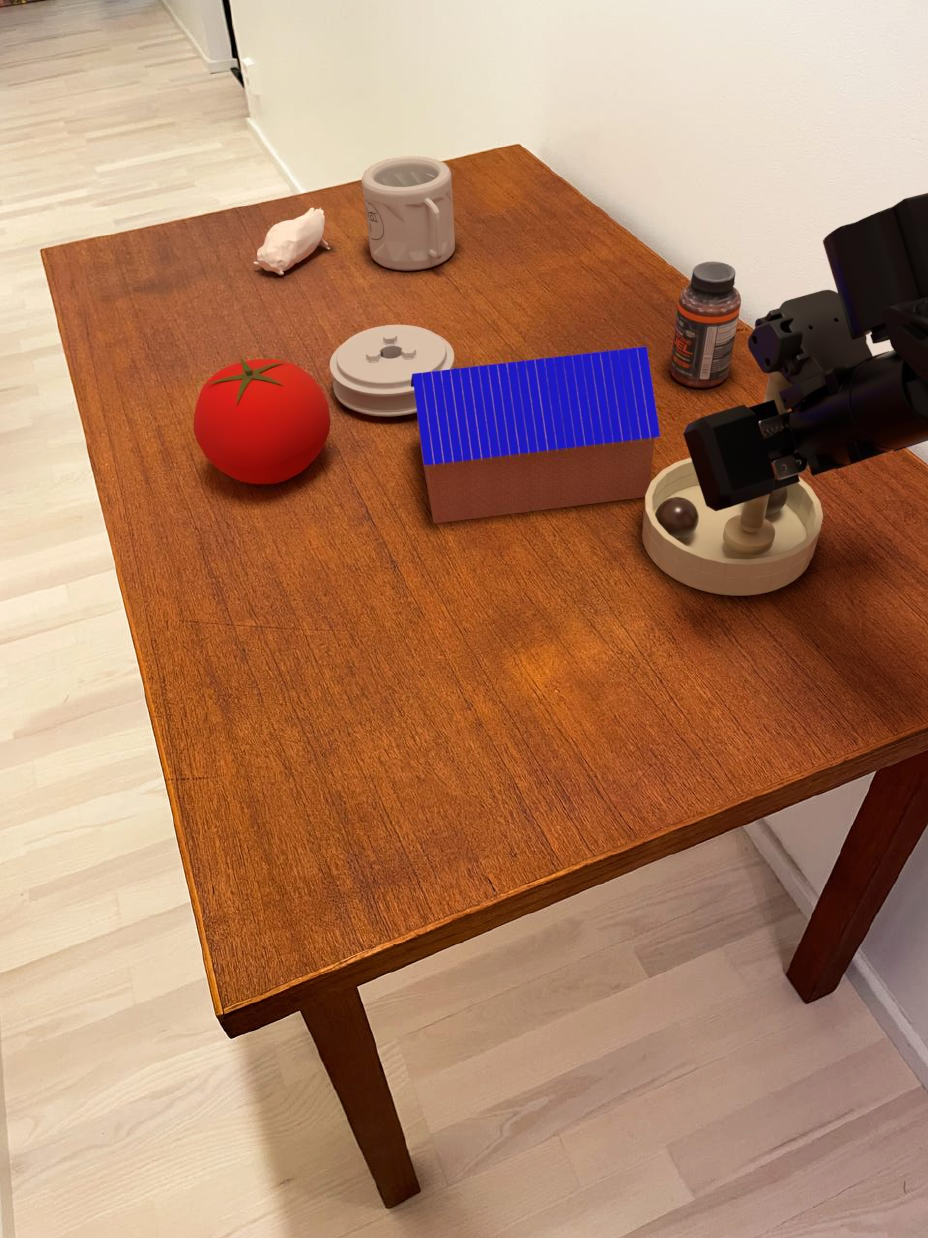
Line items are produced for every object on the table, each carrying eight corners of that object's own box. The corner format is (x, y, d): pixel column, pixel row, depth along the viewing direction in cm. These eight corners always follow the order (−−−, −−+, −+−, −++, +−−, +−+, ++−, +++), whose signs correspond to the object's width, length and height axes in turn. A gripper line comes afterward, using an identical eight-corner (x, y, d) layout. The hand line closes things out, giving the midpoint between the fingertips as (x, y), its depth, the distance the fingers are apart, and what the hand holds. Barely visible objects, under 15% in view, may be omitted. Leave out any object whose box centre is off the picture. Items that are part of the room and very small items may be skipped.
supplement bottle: (657, 368, 100) (669, 264, 92) (705, 353, 101) (721, 250, 93) (690, 396, 96) (705, 290, 88) (740, 380, 98) (759, 275, 90)
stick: (765, 561, 76) (805, 386, 65) (716, 546, 78) (747, 373, 66) (779, 531, 79) (821, 357, 67) (731, 517, 80) (764, 345, 69)
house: (652, 498, 85) (666, 384, 77) (430, 526, 84) (419, 413, 76) (619, 422, 94) (628, 311, 85) (416, 446, 92) (405, 337, 84)
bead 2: (799, 510, 80) (793, 467, 80) (763, 513, 79) (756, 470, 79) (773, 517, 83) (766, 477, 84) (737, 521, 82) (731, 480, 82)
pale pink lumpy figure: (297, 252, 126) (247, 265, 118) (305, 199, 122) (252, 209, 114) (327, 266, 124) (278, 281, 117) (336, 213, 120) (285, 225, 113)
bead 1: (711, 507, 78) (676, 481, 79) (682, 539, 77) (647, 512, 78) (704, 524, 81) (670, 499, 82) (676, 554, 81) (643, 529, 82)
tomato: (187, 470, 92) (156, 374, 84) (289, 415, 97) (268, 320, 90) (256, 522, 86) (230, 423, 78) (360, 460, 91) (345, 362, 84)
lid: (312, 409, 98) (303, 365, 94) (371, 347, 106) (366, 305, 102) (422, 435, 94) (418, 391, 90) (475, 369, 101) (473, 326, 98)
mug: (357, 247, 123) (346, 166, 116) (431, 226, 126) (426, 147, 119) (402, 289, 115) (394, 206, 107) (481, 266, 118) (478, 183, 110)
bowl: (849, 563, 78) (860, 530, 76) (700, 617, 75) (706, 585, 72) (748, 468, 88) (754, 436, 85) (611, 512, 84) (614, 481, 82)
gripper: (971, 241, 61) (822, 324, 76) (719, 311, 56) (614, 385, 71) (1022, 410, 61) (864, 459, 76) (777, 493, 56) (660, 527, 72)
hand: (753, 454), depth 74 cm, fingers closed on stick, 2 cm apart
